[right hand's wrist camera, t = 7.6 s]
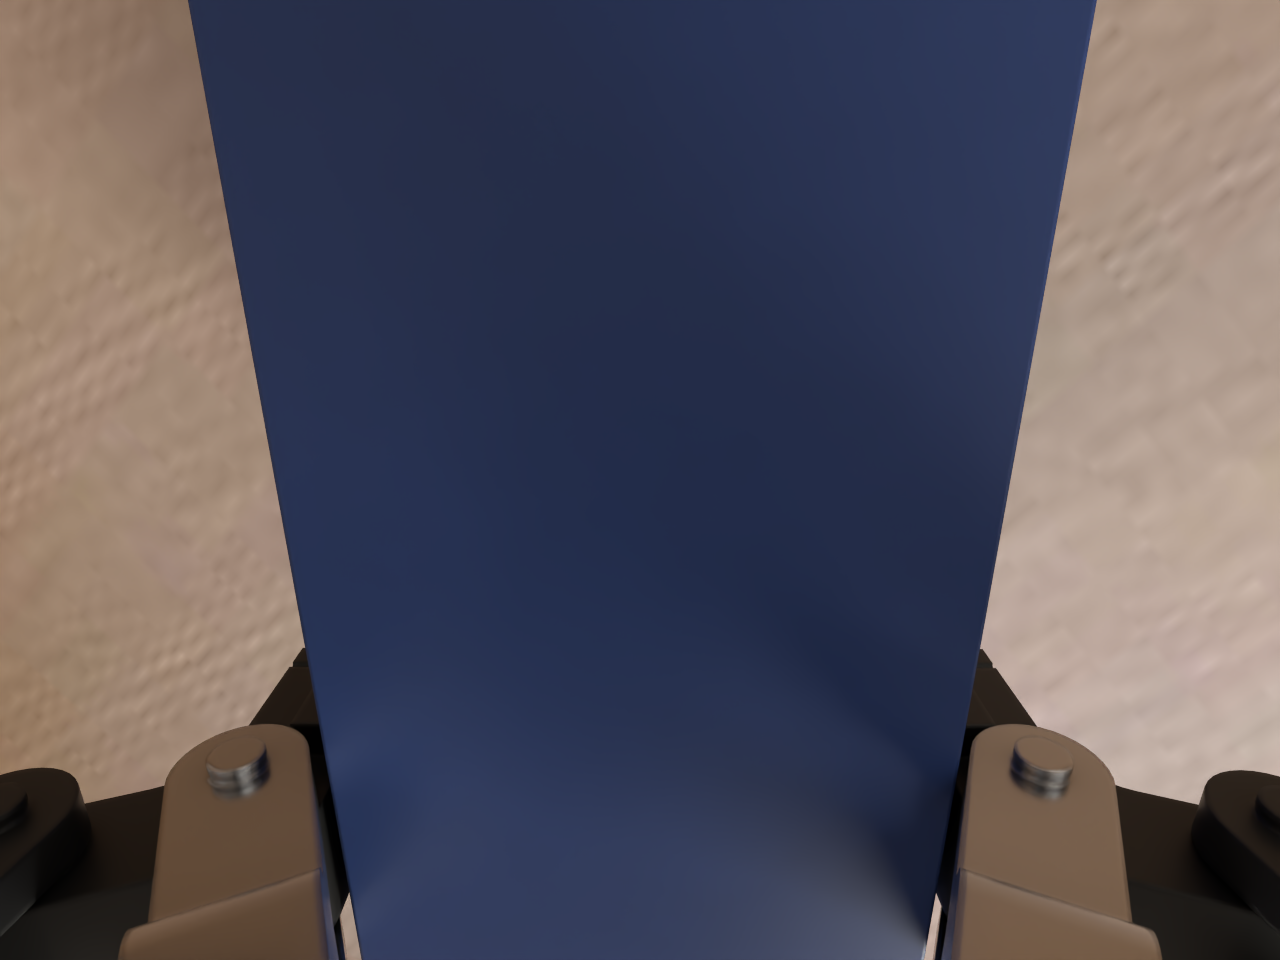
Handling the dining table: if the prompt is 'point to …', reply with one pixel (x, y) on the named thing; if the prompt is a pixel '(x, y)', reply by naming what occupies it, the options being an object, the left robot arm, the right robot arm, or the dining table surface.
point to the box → (642, 442)
